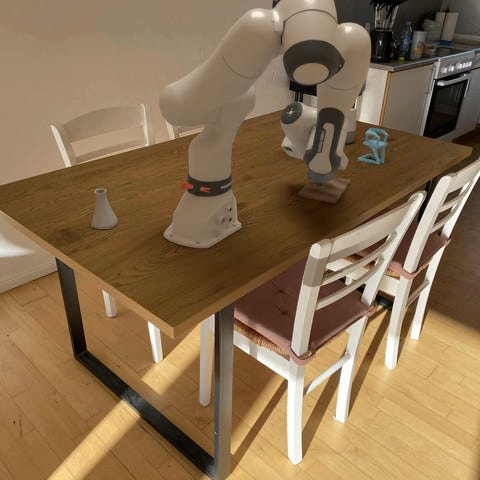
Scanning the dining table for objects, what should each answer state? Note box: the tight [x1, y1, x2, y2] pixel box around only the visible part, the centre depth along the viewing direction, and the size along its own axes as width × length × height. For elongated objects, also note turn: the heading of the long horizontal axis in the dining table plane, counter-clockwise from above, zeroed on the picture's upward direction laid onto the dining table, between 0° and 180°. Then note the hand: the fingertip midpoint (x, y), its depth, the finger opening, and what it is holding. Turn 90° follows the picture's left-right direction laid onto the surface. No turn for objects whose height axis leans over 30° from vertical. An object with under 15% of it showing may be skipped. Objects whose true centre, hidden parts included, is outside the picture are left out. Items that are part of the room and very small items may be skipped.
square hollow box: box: [306, 167, 335, 184], centre depth 154 cm, size 6×6×8 cm
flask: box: [90, 188, 119, 230], centre depth 131 cm, size 7×7×10 cm
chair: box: [357, 127, 389, 165], centre depth 179 cm, size 8×8×12 cm
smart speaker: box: [344, 107, 357, 145], centre depth 198 cm, size 10×9×14 cm
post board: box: [297, 176, 351, 204], centre depth 155 cm, size 18×12×8 cm, turn 154°
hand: (322, 166), depth 155 cm, fingers closed on square hollow box, 6 cm apart
